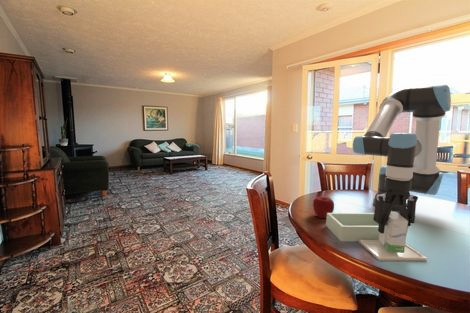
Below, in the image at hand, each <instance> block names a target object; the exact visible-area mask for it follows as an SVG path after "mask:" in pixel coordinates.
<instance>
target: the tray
mask: <svg viewBox="0 0 470 313" xmlns="http://www.w3.org/2000/svg"><path fill="white" fill-rule="evenodd" d="M358 243H359V244H360V245H361V246H362V247H363V248H364V249H365V250H367V252H368V253H370V254H371V255H372V256H373V258H374V259H376V260H377V261H378V262H427V258H428V257H426V256H425V255H424V254H422V253H421V252H419V251H418V250H416V249H414V248H413V247H411V246H410V245H408V244H407V243H406V242H405V249H404V253H399V252H389V251H388V250H387V249H386V248H385V246H384V245H383V244H382V243H381V242H380V241H379V240H359V241H358Z"/></svg>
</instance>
